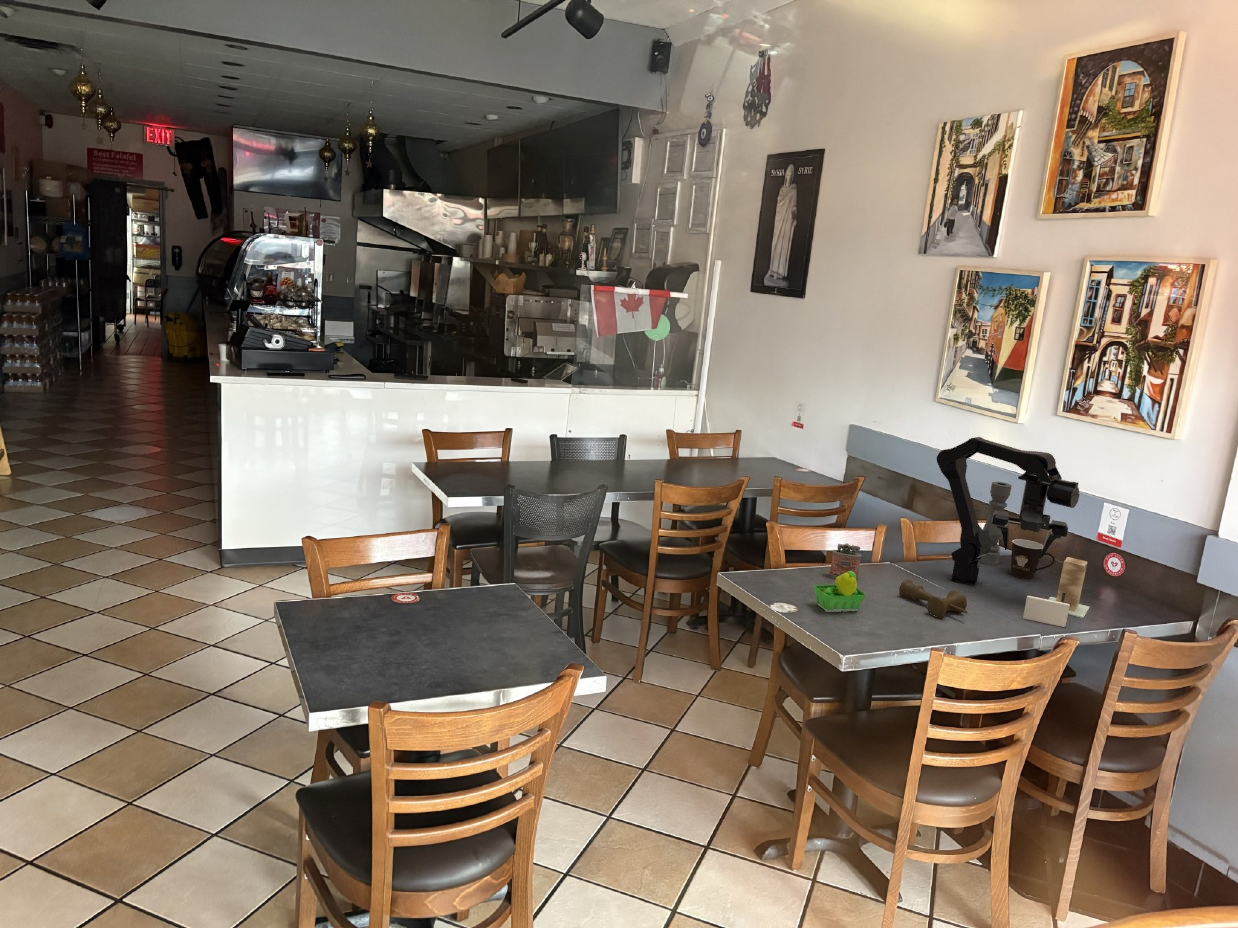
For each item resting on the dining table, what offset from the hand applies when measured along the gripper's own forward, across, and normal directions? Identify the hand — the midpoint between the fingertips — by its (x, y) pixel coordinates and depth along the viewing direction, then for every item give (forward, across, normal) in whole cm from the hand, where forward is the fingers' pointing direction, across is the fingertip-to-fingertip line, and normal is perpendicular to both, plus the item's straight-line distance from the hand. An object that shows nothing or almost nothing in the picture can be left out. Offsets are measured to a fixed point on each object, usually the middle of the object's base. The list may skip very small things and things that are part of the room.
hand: (1023, 553), depth 246 cm
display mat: (+13, +13, 0) cm, 18 cm away
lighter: (+13, -45, -14) cm, 49 cm away
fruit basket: (+13, -42, -39) cm, 59 cm away
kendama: (+14, -20, -23) cm, 33 cm away
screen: (+13, +7, -16) cm, 21 cm away
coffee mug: (+13, +3, +21) cm, 25 cm away
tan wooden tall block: (+13, +13, 0) cm, 18 cm away
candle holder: (+13, -8, +30) cm, 34 cm away
